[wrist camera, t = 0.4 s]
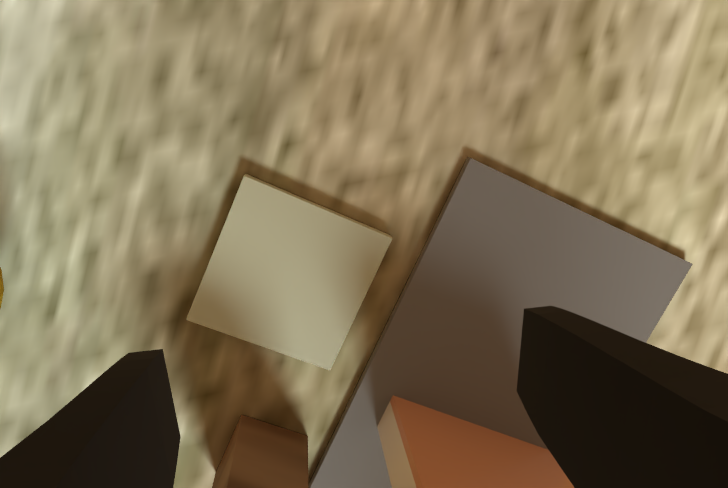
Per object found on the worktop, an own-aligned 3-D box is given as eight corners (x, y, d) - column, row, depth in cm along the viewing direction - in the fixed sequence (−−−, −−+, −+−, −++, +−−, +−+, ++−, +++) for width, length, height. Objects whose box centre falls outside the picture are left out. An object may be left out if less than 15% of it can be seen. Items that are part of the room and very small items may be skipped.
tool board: (329, 363, 21) (330, 370, 21) (188, 313, 20) (185, 319, 19) (389, 234, 20) (392, 238, 19) (245, 173, 19) (244, 175, 18)
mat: (514, 550, 25) (517, 557, 24) (306, 489, 23) (306, 495, 22) (685, 261, 22) (692, 264, 22) (467, 157, 20) (471, 158, 19)
